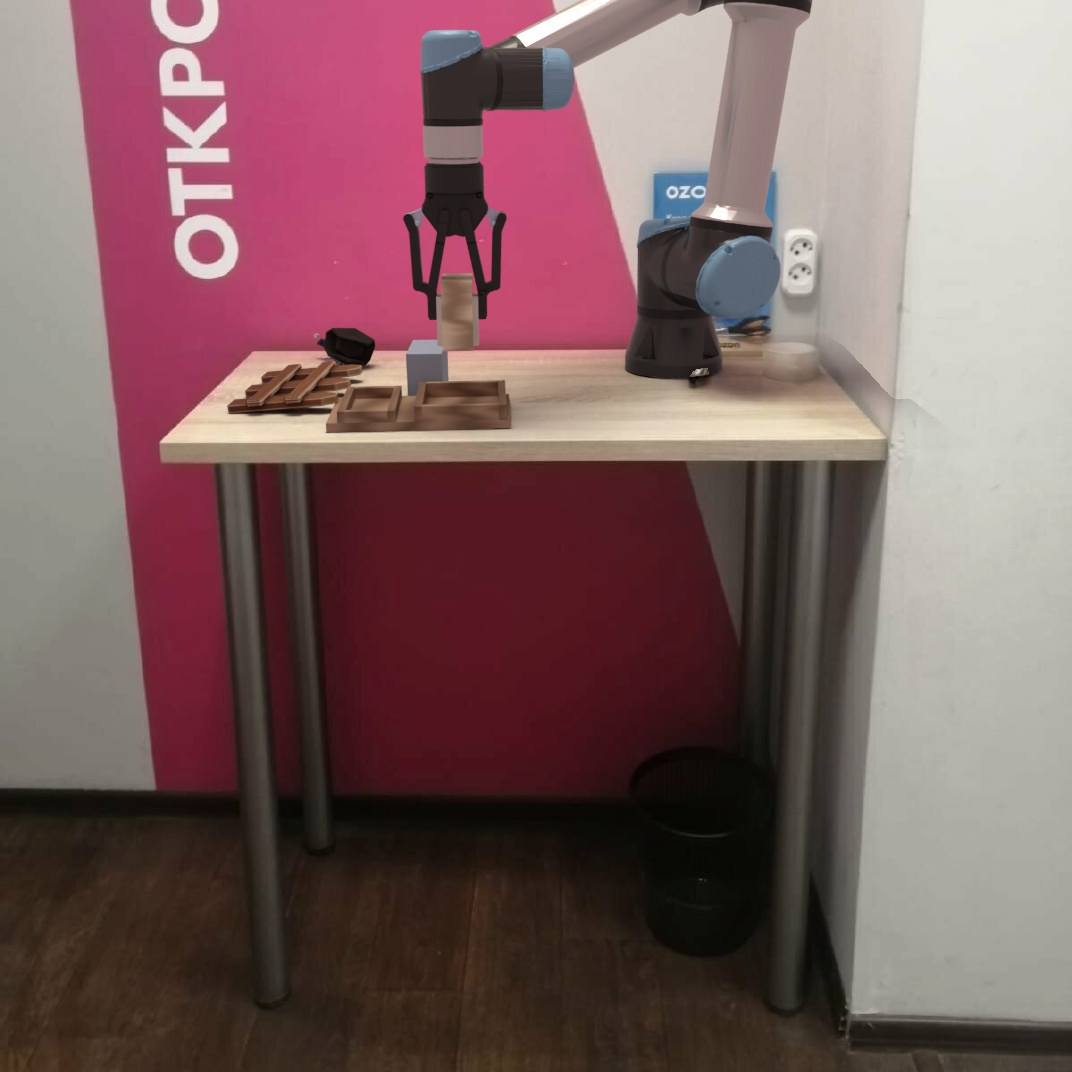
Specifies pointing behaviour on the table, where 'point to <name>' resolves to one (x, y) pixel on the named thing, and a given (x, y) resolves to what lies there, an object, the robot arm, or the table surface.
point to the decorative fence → (296, 388)
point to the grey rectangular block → (425, 364)
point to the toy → (348, 346)
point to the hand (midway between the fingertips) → (458, 343)
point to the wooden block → (457, 312)
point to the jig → (422, 407)
